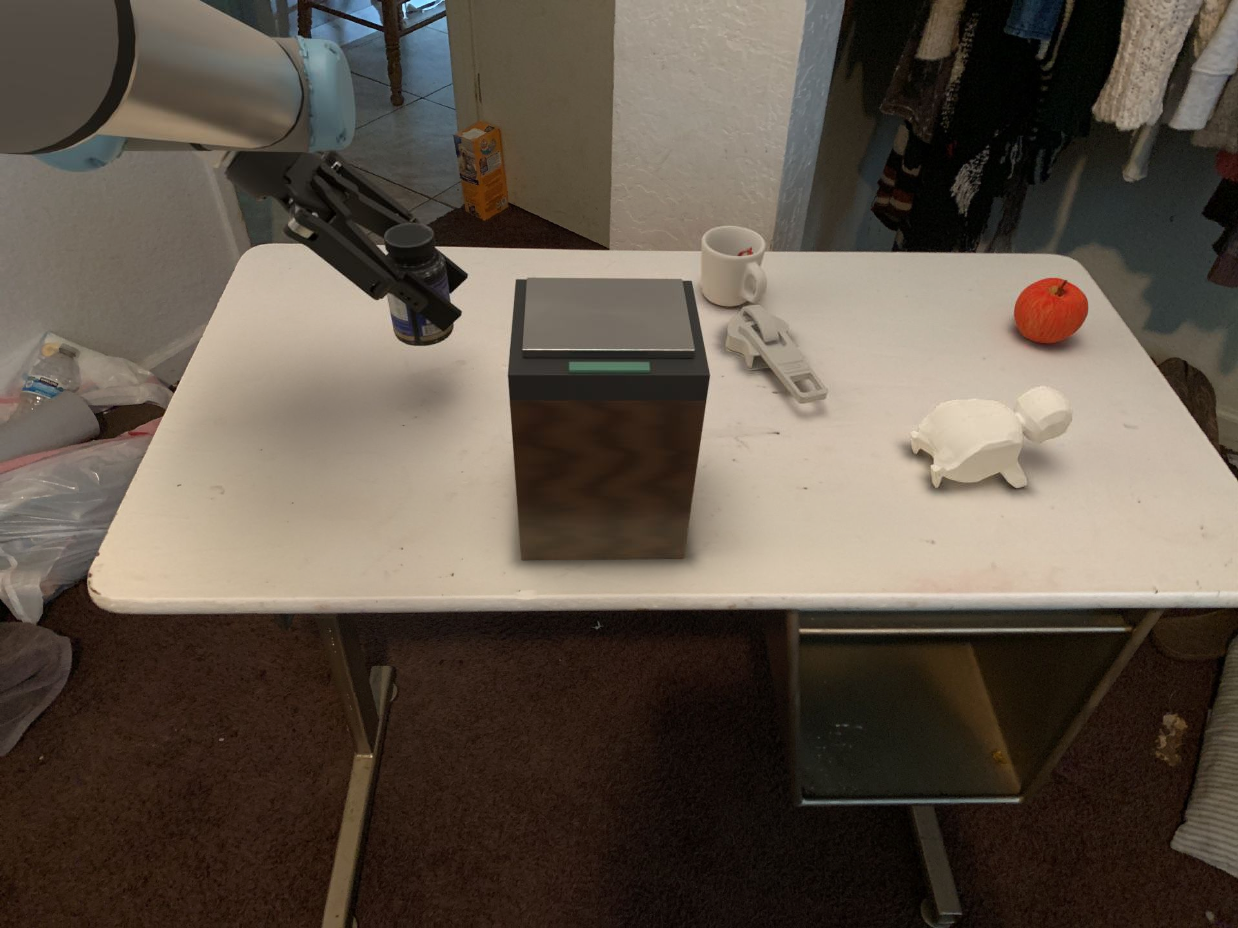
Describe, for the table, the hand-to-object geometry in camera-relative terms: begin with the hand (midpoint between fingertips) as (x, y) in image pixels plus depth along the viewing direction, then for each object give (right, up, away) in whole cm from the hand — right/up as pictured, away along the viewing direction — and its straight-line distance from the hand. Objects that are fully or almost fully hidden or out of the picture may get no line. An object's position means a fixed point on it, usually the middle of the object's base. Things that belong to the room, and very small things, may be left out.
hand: (455, 302), depth 84 cm
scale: (+15, -7, -16) cm, 23 cm away
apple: (+69, 0, +21) cm, 73 cm away
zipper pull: (+35, -5, +14) cm, 38 cm away
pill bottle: (-4, -3, +2) cm, 5 cm away
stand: (+15, -21, -3) cm, 25 cm away
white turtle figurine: (+54, -16, +4) cm, 57 cm away
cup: (+31, +5, +24) cm, 40 cm away
